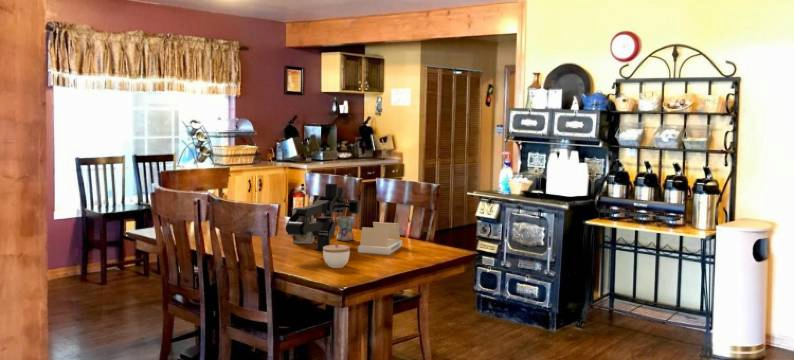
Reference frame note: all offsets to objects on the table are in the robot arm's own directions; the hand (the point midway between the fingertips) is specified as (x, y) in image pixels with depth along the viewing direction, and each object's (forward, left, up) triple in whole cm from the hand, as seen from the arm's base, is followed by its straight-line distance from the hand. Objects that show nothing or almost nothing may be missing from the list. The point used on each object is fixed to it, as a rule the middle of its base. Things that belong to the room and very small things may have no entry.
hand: (347, 204), depth 341 cm
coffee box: (-13, +17, -17) cm, 28 cm away
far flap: (-9, -22, -10) cm, 26 cm away
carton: (-17, -22, -17) cm, 33 cm away
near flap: (-26, -22, -10) cm, 35 cm away
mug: (+1, +2, -17) cm, 17 cm away
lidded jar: (-55, -16, -17) cm, 60 cm away
